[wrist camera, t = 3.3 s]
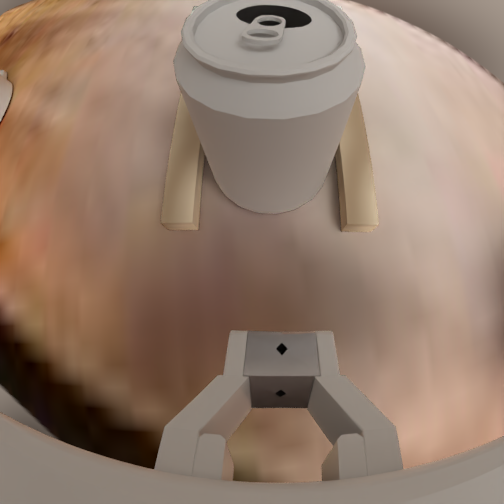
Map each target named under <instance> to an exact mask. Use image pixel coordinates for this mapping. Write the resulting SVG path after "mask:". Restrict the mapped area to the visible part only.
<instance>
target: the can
mask: <svg viewBox="0 0 504 504" xmlns="http://www.w3.org/2000/svg"><path fill="white" fill-rule="evenodd" d="M181 36H182V42H181V43H180V44H179V47H178V50H177V52H176V55H175V58H174V61H173V62H174V69H175V75H176V80H177V83H178V85H179V88H180V90H181V93H182V96H183V98H184V101H185V103H186V106H187V109H188V111H189V114H190V116H191V119H192V122H193V124H194V127H195V129H196V132H197V135H198V137H199V140H200V142H201V145H202V147H203V150H204V153H205V155H206V158H207V160H208V163H209V165H210V168H211V171H212V173H213V176H214V178H215V181H216V183H217V184H218V186H219V187H220V189H221V190H222V192H223V193H224V195H225V196H226V197H228V198H229V199H230V200H232V201H233V202H234V203H236V204H237V205H238V206H240V207H242V208H245V209H248V210H251V211H254V212H256V213H269V214H279V213H283V212H287V211H291V210H295V209H297V208H299V207H300V206H302V205H304V204H305V203H307V202H309V201H310V200H312V199H313V197H314V196H315V195H316V194H317V192H318V191H319V190H320V189H321V187H322V186H323V184H324V181H325V179H326V176H327V173H328V171H329V168H330V166H331V163H332V161H333V158H334V156H335V153H336V150H337V148H338V145H339V142H340V140H341V137H342V135H343V132H344V129H345V127H346V124H347V121H348V118H349V116H350V113H351V110H352V108H353V105H354V102H355V99H356V97H357V94H358V91H359V88H360V85H361V82H362V78H363V74H364V70H365V63H364V59H363V55H362V51H361V48H360V47H359V46H358V44H357V43H356V42H355V41H356V38H357V34H356V31H355V28H354V24H353V22H352V21H351V20H350V18H349V17H348V16H347V15H346V14H345V13H344V12H343V11H342V9H340V8H339V7H338V6H336V5H334V4H333V3H331V2H330V1H328V0H208V1H206V2H205V3H203V4H201V5H200V6H199V7H197V8H196V9H195V10H194V11H193V12H192V13H191V14H190V15H189V16H188V17H187V18H186V21H185V23H184V25H183V28H182V30H181Z"/></svg>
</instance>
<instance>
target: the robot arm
mask: <svg viewBox="0 0 504 504" xmlns="http://www.w3.org/2000/svg"><path fill="white" fill-rule="evenodd" d="M11 95H12V83H11V82H10V81H8V80H7V72H5V71H4V70H0V121H1V119H2V117H3V115H4V113H5V111H6V109H7V106H8V104H9V101H10V98H11ZM279 407H280V408H307V410H308V411H309V413H310V414H311V415H312V417H313V418H314V420H315V421H316V423H317V424H318V425H319V427H320V428H321V430H322V431H323V432H324V434H325V435H326V437H327V438H328V439H329V441H330V442H331V443H332V445H333V448H332V449H331V451H330V453H329V454H328V456H327V457H326V459H325V461H324V462H323V464H322V481H317V482H296V483H260V482H240V481H233V470H234V464H233V461H232V458H231V455H230V452H229V449H228V446H227V440H228V439H229V438H230V437H231V435H232V434H233V433H234V432H235V430H236V429H237V428H238V426H239V425H240V424H241V423H242V421H243V420H244V419H245V417H246V416H247V415H248V413H249V412H250V411H251V408H279ZM0 504H504V436H502V437H500V438H498V439H495V440H493V441H491V442H488V443H486V444H483V445H481V446H478V447H476V448H473V449H470V450H468V451H465V452H462V453H459V454H456V455H453V456H450V457H447V458H444V459H440V460H437V461H434V462H430V463H426V464H423V465H419V466H415V467H411V468H406V469H403V465H402V458H401V453H400V447H399V441H398V436H397V431H396V427H395V426H394V425H393V424H392V423H391V422H390V421H389V420H388V419H387V418H386V417H385V416H384V415H383V414H382V413H381V412H380V411H379V409H378V408H377V407H376V406H375V405H374V404H373V403H372V402H371V401H370V400H369V399H368V398H367V397H366V396H365V395H364V394H363V393H362V392H361V391H360V390H359V389H358V388H357V387H356V386H355V385H354V384H353V383H352V382H351V381H350V380H349V379H348V378H347V377H346V376H345V375H340V371H339V365H338V359H337V352H336V346H335V341H334V335H333V332H332V331H315V332H314V331H286V332H266V331H239V330H231V332H230V334H229V339H228V346H227V352H226V359H225V365H224V372H223V375H217V376H216V377H215V378H214V379H213V380H212V381H211V382H210V383H209V384H208V385H207V386H206V387H205V388H204V389H203V390H202V391H201V392H200V393H199V394H198V395H197V396H196V397H195V398H194V399H193V400H192V401H191V402H190V403H189V404H188V405H187V406H186V407H185V408H184V409H183V410H182V411H181V412H180V413H178V414H177V415H176V416H175V417H174V418H173V419H172V420H171V421H170V422H169V423H168V424H167V425H166V426H165V427H164V431H163V435H162V439H161V443H160V448H159V452H158V456H157V460H156V464H155V469H149V468H145V467H140V466H136V465H132V464H129V463H125V462H121V461H118V460H114V459H111V458H107V457H104V456H101V455H98V454H95V453H92V452H89V451H86V450H83V449H80V448H78V447H75V446H72V445H70V444H67V443H64V442H62V441H59V440H57V439H55V438H52V437H50V436H48V435H45V434H43V433H41V432H39V431H37V430H34V429H32V428H30V427H28V426H26V425H24V424H22V423H20V422H18V421H16V420H14V419H12V418H10V417H9V416H7V415H5V414H3V413H1V412H0Z"/></svg>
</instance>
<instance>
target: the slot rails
mask: <svg viewBox="0 0 504 504" xmlns="http://www.w3.org/2000/svg"><path fill="white" fill-rule="evenodd" d="M204 157H205V153H204V150H203V147H202V145H201V142H200V140H199V137H198V135H197V132H196V129H195V127H194V124H193V122H192V119H191V116H190V114H189V111H188V109H187V106H186V103H185V101H184V98H183V96H182V93H181V94H180V99H179V103H178V109H177V114H176V119H175V124H174V130H173V136H172V142H171V148H170V154H169V161H168V167H167V174H166V181H165V189H164V197H163V205H162V214H161V224H162V225H163V226H165V227H166V228H167V229H168V230H198V229H199V215H200V202H201V190H202V178H203V168H204ZM335 159H336V169H337V179H338V191H339V204H340V219H341V231H347V232H371V231H372V230H374V229H375V228H376V227H377V226H378V225H379V221H378V211H377V202H376V193H375V185H374V178H373V171H372V164H371V158H370V151H369V146H368V140H367V134H366V129H365V124H364V119H363V114H362V109H361V105H360V100H359V96H358V94H357V97H356V99H355V102H354V105H353V108H352V110H351V113H350V116H349V118H348V121H347V124H346V127H345V129H344V132H343V135H342V137H341V140H340V142H339V145H338V148H337V150H336V153H335Z"/></svg>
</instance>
